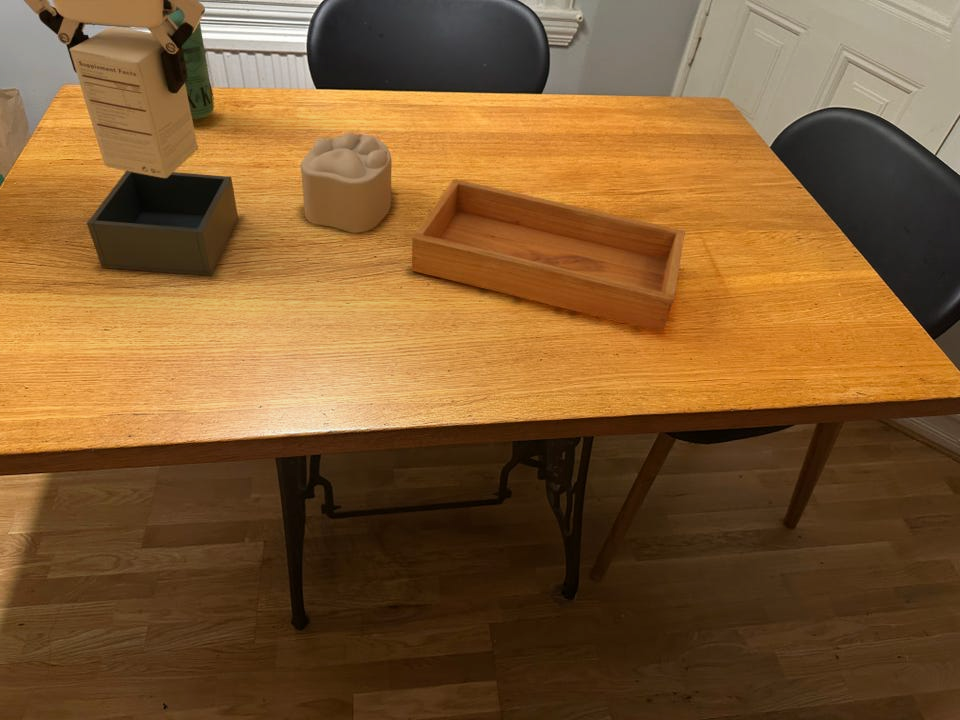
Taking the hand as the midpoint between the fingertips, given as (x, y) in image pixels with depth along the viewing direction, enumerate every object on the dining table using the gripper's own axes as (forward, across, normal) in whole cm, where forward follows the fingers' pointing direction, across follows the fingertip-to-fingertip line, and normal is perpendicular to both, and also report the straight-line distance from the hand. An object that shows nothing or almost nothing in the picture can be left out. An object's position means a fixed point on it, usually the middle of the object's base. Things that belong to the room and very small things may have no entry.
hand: (134, 83), depth 72 cm
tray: (+20, -46, 0) cm, 50 cm away
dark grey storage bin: (+19, 0, 0) cm, 19 cm away
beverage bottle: (+19, +7, -33) cm, 39 cm away
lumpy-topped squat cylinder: (+19, -20, -12) cm, 30 cm away
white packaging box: (+9, 0, 0) cm, 9 cm away
